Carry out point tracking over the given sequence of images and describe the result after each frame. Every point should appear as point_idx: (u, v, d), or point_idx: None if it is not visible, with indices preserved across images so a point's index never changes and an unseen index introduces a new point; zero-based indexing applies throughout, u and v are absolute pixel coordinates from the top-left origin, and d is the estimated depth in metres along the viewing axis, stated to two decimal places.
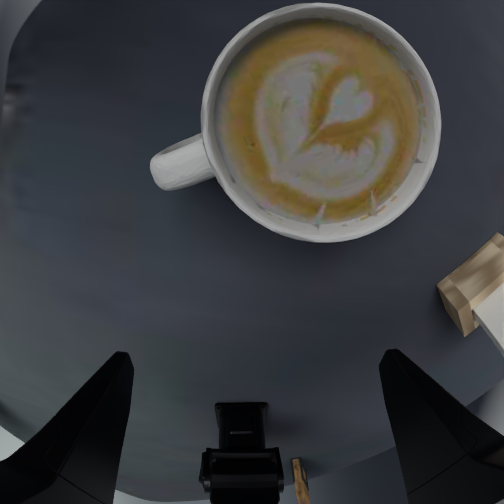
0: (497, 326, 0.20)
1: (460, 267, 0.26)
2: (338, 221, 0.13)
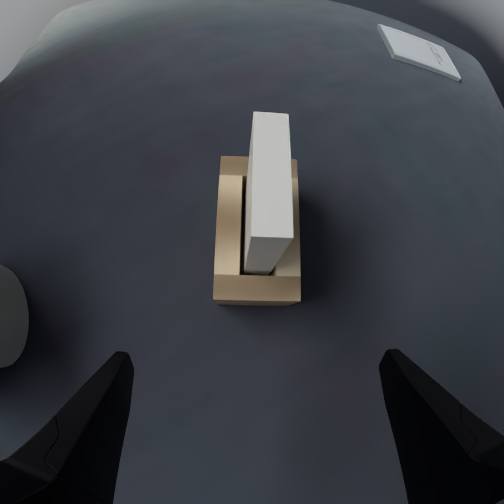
0: (247, 241, 0.15)
1: None
2: None
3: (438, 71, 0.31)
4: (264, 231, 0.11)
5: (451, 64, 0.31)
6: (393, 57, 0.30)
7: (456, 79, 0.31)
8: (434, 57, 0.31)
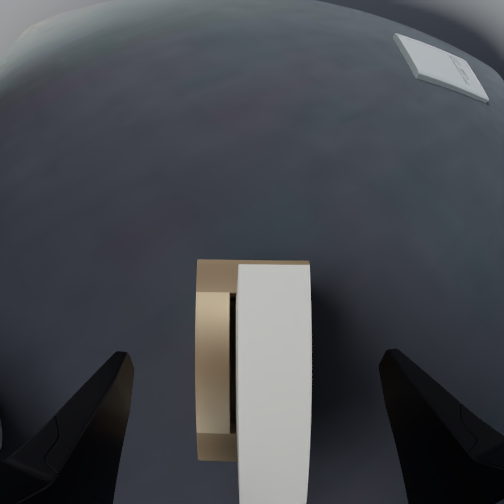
0: None
1: None
2: None
3: (465, 92, 0.25)
4: (260, 501, 0.05)
5: (477, 82, 0.26)
6: (417, 76, 0.25)
7: (483, 101, 0.26)
8: (459, 74, 0.25)
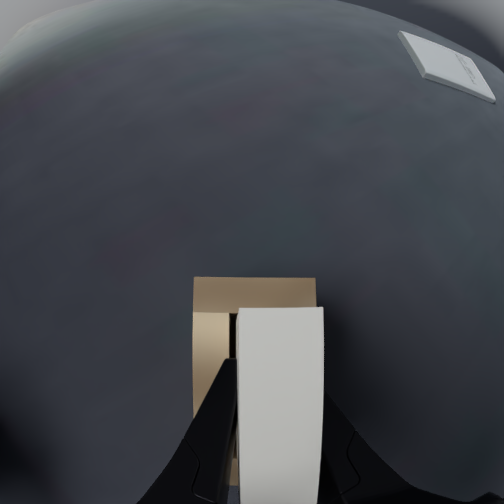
0: None
1: None
2: None
3: (472, 92, 0.24)
4: None
5: (483, 81, 0.24)
6: (423, 76, 0.24)
7: (490, 101, 0.24)
8: (466, 73, 0.24)
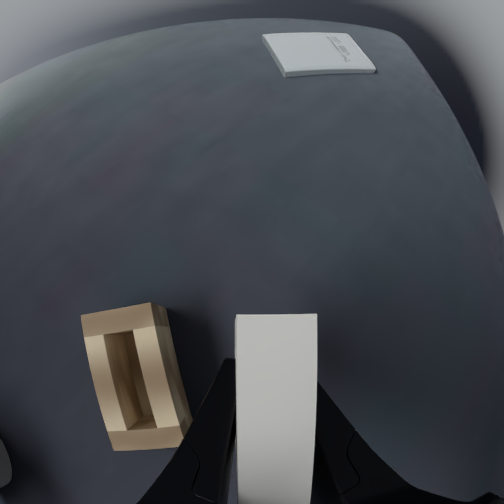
0: None
1: None
2: None
3: (345, 70, 0.30)
4: None
5: (361, 54, 0.30)
6: (285, 75, 0.29)
7: (370, 71, 0.30)
8: (337, 53, 0.30)
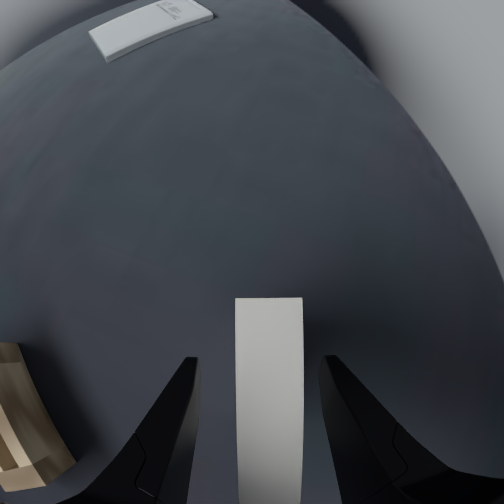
0: None
1: None
2: None
3: (175, 28, 0.24)
4: None
5: (195, 6, 0.25)
6: (107, 61, 0.23)
7: (207, 19, 0.25)
8: (166, 16, 0.24)
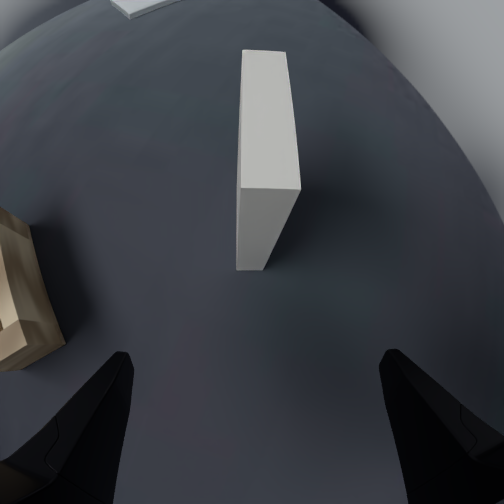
0: (238, 210, 0.12)
1: None
2: None
3: None
4: (259, 181, 0.08)
5: None
6: (130, 18, 0.25)
7: None
8: None
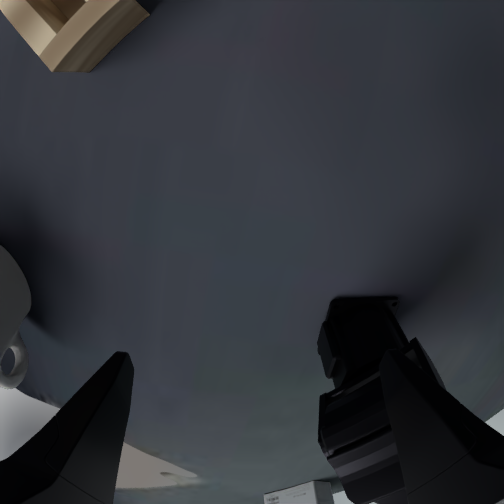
0: None
1: None
2: None
3: None
4: None
5: None
6: None
7: None
8: None
